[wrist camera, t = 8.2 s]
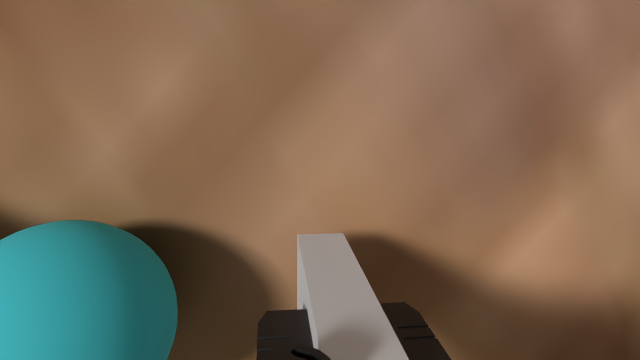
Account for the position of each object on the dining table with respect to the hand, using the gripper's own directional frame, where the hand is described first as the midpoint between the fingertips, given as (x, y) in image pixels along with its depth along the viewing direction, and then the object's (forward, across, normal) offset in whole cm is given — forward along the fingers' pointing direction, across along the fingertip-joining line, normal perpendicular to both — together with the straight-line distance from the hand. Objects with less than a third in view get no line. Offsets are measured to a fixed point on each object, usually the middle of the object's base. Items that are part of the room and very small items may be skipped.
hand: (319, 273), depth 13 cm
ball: (-1, -7, -1) cm, 7 cm away
